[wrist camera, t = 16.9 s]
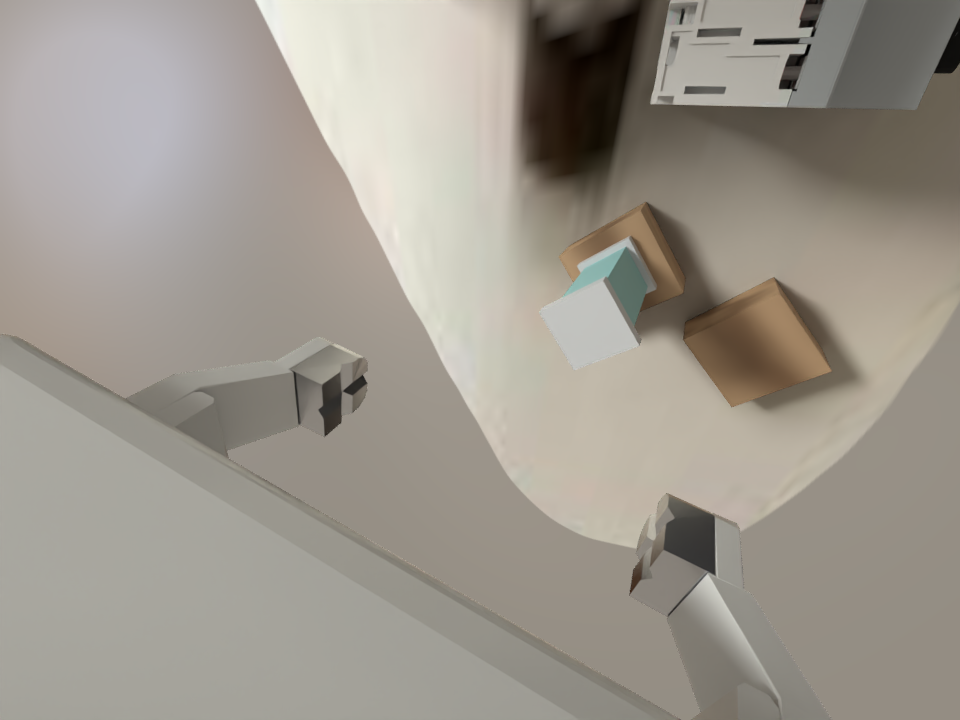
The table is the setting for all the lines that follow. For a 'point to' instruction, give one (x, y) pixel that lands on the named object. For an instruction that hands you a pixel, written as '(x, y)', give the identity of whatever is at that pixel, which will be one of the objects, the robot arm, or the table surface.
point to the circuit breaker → (805, 52)
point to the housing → (601, 305)
